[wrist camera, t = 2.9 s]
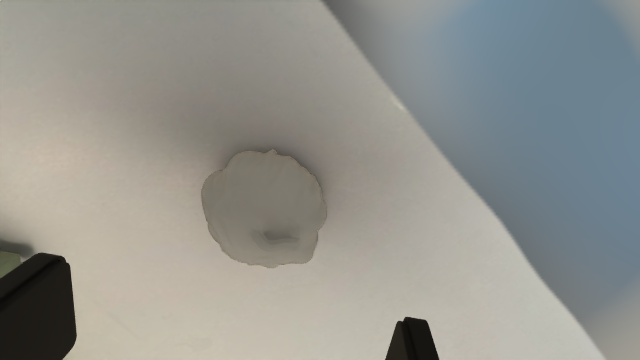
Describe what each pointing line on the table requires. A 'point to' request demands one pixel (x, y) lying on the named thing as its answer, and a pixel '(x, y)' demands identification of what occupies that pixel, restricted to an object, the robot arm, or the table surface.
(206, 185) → the garlic
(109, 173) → the table surface
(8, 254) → the drawer
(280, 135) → the table surface
